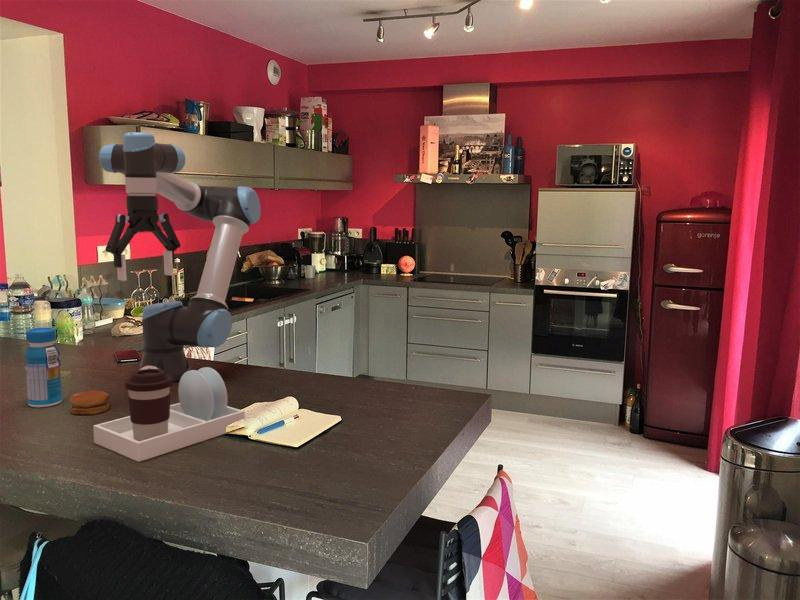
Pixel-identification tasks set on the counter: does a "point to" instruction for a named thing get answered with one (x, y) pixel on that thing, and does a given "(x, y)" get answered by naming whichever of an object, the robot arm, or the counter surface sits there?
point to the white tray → (179, 434)
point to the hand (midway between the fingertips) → (146, 277)
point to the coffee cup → (149, 402)
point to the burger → (89, 402)
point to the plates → (203, 394)
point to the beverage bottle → (42, 368)
